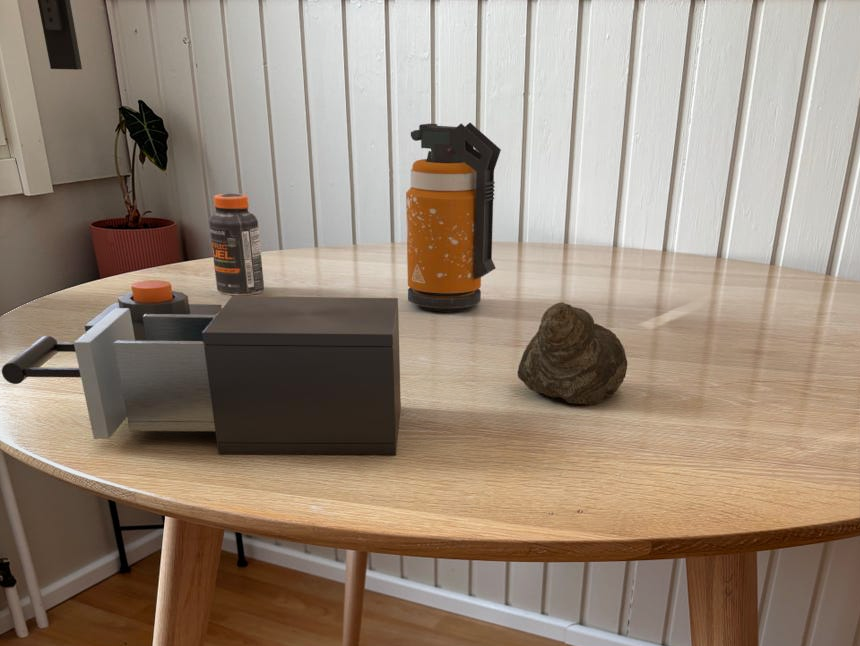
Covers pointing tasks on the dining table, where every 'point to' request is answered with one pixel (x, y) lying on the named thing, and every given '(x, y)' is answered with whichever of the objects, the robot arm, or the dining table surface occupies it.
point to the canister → (450, 217)
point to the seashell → (573, 357)
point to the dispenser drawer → (133, 372)
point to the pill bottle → (236, 246)
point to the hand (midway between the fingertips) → (66, 68)
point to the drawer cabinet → (305, 375)
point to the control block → (155, 310)
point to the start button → (152, 291)
